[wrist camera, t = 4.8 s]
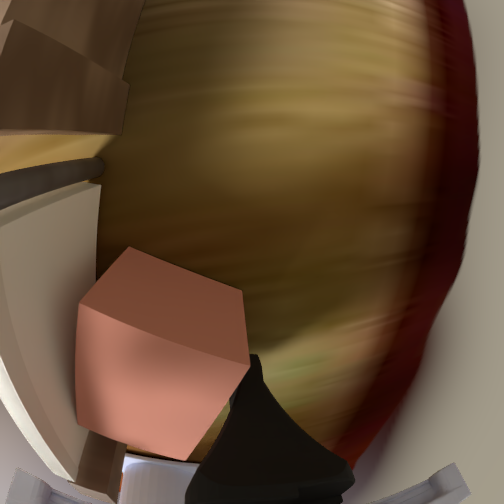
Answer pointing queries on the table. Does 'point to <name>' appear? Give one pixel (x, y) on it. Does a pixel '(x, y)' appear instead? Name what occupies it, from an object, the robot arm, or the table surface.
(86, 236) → the door
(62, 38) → the frame
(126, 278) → the block
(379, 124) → the table surface
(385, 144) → the table surface
